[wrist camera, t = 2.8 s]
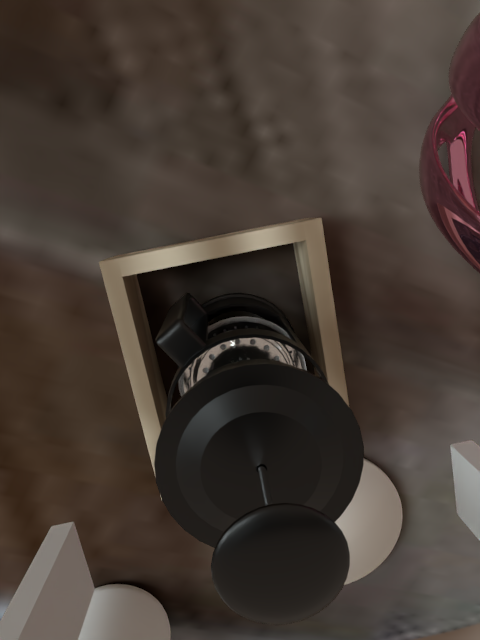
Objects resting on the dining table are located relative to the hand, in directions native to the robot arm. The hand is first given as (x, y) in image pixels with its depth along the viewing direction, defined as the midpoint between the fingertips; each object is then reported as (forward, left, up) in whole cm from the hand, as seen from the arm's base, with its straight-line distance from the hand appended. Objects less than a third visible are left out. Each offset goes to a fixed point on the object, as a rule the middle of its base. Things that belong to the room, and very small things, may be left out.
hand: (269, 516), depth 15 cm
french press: (0, 0, -21) cm, 21 cm away
